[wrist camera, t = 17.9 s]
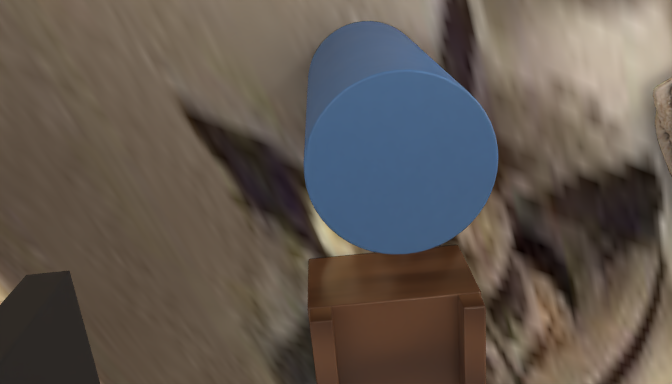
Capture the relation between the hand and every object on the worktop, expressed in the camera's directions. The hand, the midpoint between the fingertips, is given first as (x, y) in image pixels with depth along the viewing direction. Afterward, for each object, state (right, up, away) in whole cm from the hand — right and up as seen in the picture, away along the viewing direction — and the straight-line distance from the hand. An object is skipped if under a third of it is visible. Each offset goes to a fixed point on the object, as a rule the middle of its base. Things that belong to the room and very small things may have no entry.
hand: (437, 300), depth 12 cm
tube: (0, +5, +13) cm, 14 cm away
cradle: (+1, -5, +23) cm, 24 cm away
